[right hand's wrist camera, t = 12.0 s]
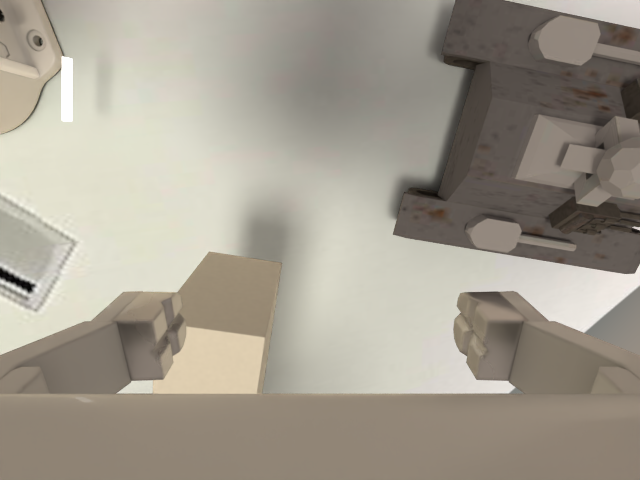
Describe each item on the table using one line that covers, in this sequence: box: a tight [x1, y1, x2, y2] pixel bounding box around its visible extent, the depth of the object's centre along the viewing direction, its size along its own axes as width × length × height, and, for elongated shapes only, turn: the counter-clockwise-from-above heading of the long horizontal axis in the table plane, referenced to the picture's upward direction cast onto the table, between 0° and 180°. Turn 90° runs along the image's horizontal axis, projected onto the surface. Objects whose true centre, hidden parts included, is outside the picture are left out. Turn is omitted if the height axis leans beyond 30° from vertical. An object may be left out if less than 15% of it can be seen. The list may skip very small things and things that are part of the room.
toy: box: [393, 0, 640, 274], centre depth 28 cm, size 25×20×15 cm
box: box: [153, 252, 282, 394], centre depth 28 cm, size 27×6×10 cm, turn 170°
